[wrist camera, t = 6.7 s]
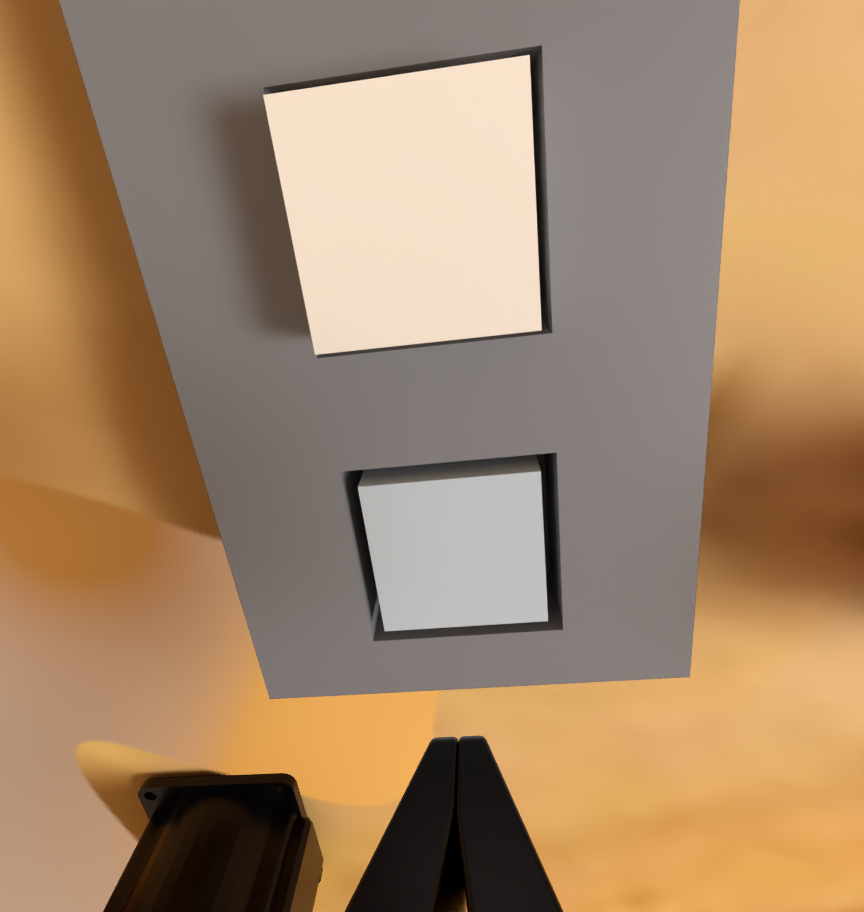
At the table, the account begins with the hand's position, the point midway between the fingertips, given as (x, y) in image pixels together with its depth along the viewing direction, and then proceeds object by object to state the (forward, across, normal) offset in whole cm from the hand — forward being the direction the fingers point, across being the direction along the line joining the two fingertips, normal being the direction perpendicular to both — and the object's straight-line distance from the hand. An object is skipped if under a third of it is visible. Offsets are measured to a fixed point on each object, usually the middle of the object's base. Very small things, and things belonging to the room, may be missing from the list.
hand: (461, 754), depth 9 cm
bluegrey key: (+8, 0, 0) cm, 8 cm away
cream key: (+7, 0, -8) cm, 10 cm away
